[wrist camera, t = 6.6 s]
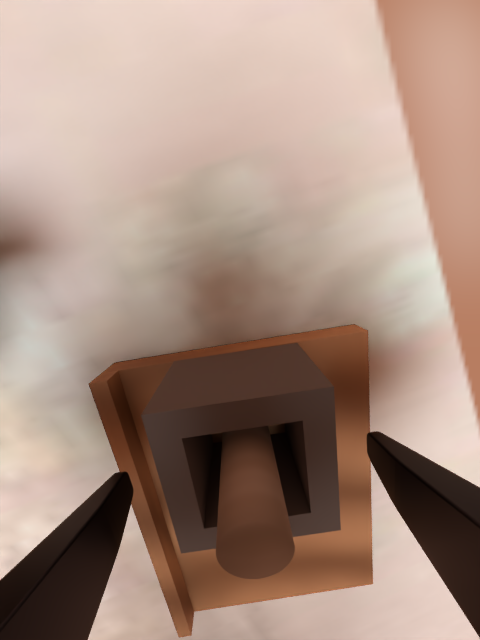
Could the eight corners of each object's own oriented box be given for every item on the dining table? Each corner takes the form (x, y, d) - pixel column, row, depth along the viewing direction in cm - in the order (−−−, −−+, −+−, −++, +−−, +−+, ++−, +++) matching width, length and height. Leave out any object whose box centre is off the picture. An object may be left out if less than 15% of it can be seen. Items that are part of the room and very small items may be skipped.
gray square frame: (306, 445, 12) (340, 529, 8) (197, 461, 12) (181, 553, 8) (297, 342, 11) (334, 386, 7) (174, 361, 11) (140, 414, 7)
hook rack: (362, 560, 16) (462, 786, 9) (185, 588, 16) (150, 833, 9) (354, 324, 12) (529, 408, 5) (114, 362, 12) (-53, 499, 5)
